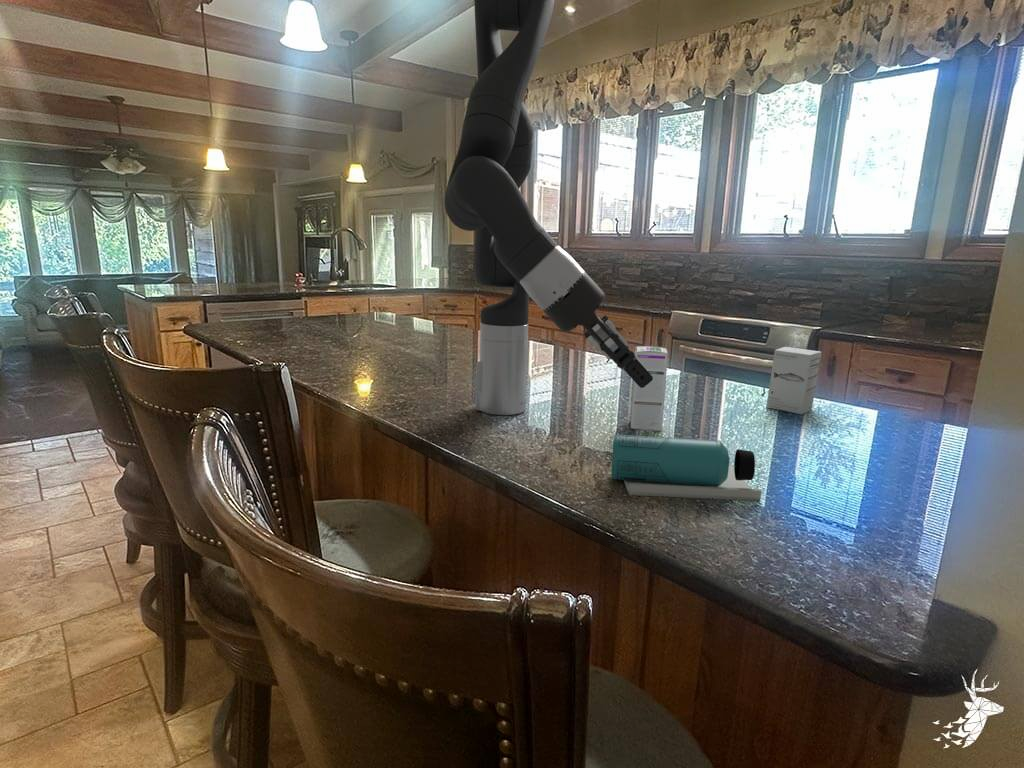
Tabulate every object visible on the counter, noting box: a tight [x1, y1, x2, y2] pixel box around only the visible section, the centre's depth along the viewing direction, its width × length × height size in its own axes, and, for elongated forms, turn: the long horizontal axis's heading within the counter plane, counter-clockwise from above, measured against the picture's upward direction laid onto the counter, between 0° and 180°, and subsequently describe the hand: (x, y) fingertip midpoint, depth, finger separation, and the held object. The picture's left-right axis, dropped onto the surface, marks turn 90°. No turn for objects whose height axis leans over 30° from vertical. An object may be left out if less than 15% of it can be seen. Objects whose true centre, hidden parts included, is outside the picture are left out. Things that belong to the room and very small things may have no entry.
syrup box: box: [630, 345, 669, 432], centre depth 104 cm, size 6×6×14 cm
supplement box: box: [766, 346, 823, 416], centre depth 119 cm, size 7×7×13 cm
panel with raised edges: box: [623, 456, 762, 502], centre depth 81 cm, size 17×13×1 cm
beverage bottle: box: [611, 433, 756, 487], centre depth 78 cm, size 6×7×20 cm
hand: (647, 382), depth 78 cm, fingers closed
